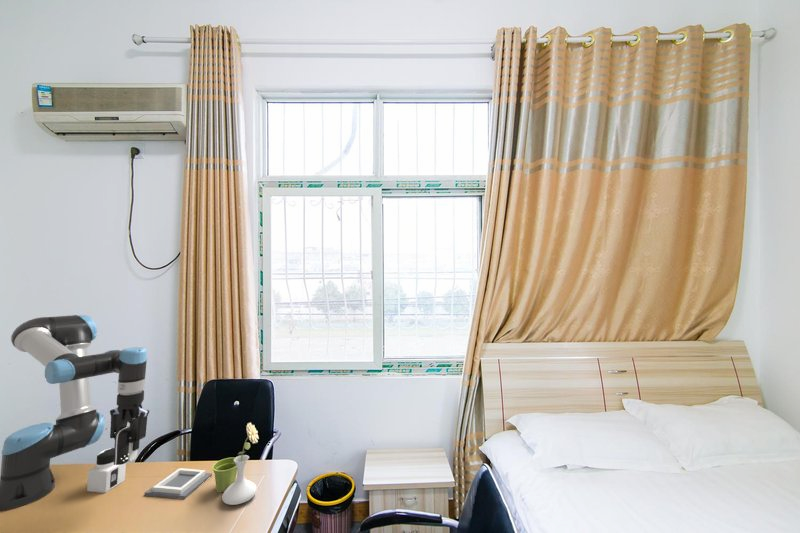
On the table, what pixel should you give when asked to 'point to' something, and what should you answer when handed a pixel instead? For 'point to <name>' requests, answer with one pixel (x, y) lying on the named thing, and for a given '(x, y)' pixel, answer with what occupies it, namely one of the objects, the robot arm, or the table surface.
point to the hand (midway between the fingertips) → (126, 458)
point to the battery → (122, 446)
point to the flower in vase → (242, 475)
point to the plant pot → (224, 473)
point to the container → (105, 473)
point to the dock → (179, 483)
